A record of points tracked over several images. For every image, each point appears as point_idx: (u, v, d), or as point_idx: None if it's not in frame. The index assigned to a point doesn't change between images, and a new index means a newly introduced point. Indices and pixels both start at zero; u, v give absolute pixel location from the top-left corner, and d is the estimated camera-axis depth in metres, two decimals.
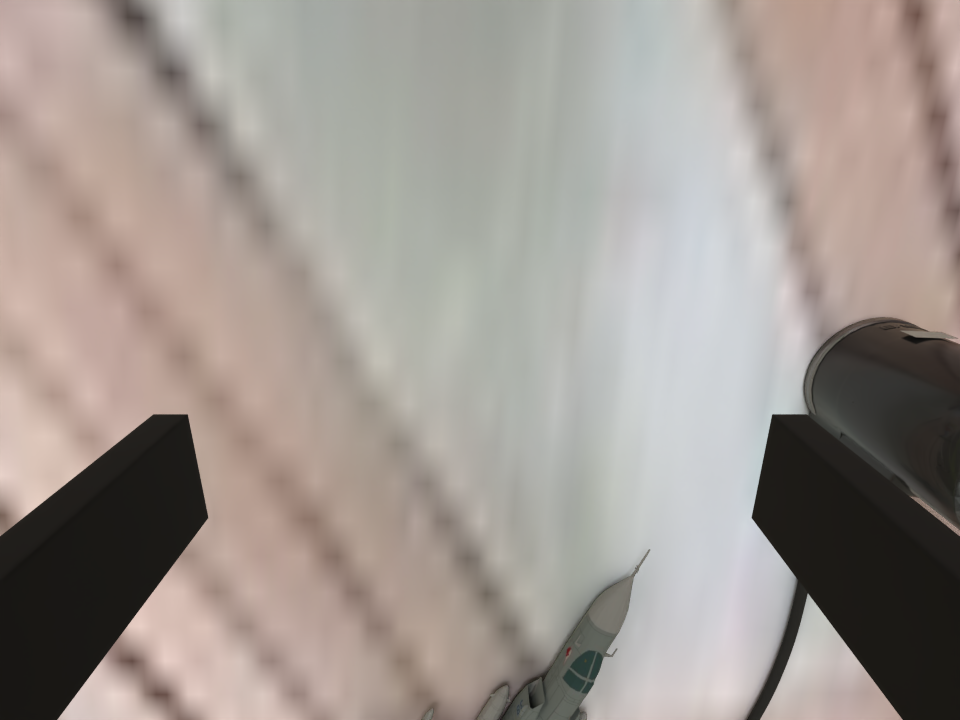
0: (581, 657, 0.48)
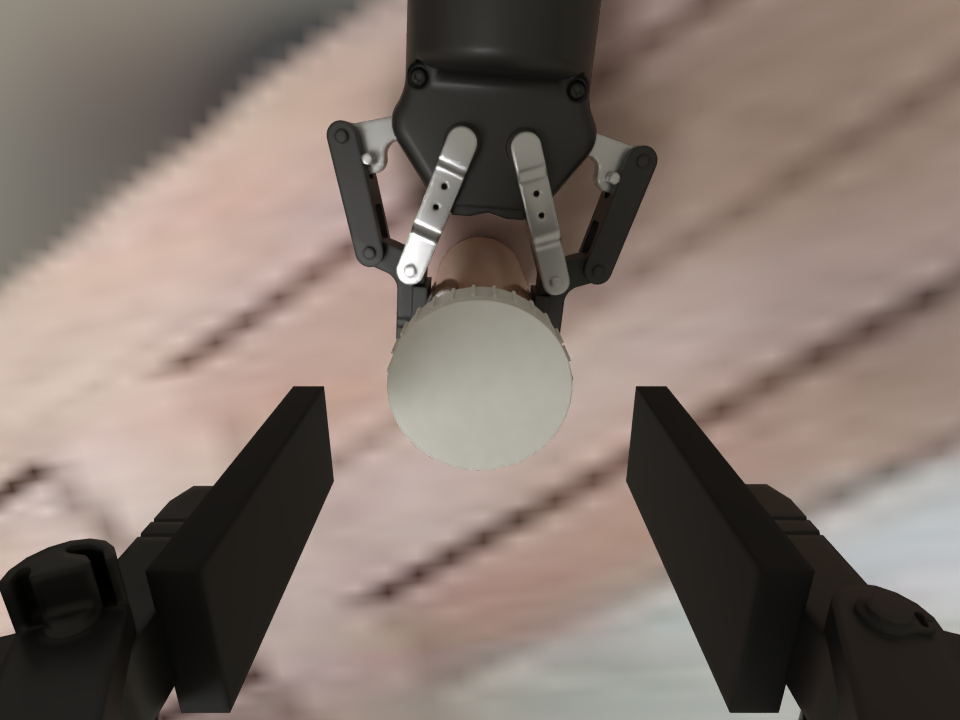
0: None
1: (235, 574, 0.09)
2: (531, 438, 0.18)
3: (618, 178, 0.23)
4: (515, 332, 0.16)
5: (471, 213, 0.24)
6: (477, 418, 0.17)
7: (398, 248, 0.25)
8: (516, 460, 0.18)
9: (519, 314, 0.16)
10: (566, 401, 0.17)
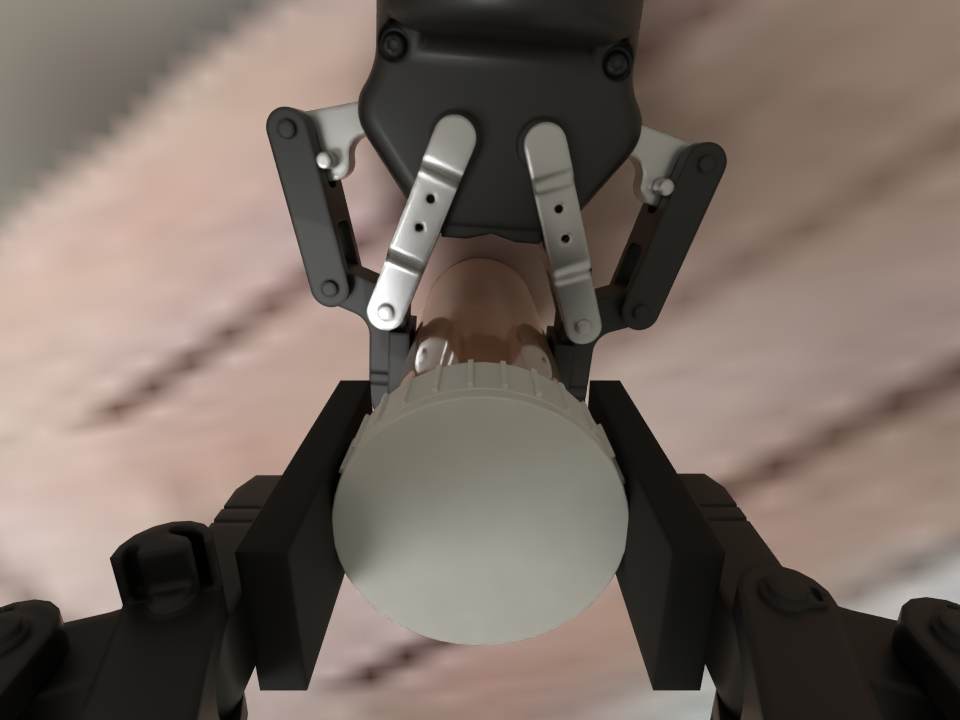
0: None
1: (310, 557, 0.09)
2: (562, 601, 0.11)
3: (672, 187, 0.17)
4: (539, 447, 0.10)
5: (468, 235, 0.17)
6: (476, 573, 0.11)
7: (370, 281, 0.18)
8: (537, 631, 0.11)
9: (546, 419, 0.10)
10: (619, 548, 0.11)
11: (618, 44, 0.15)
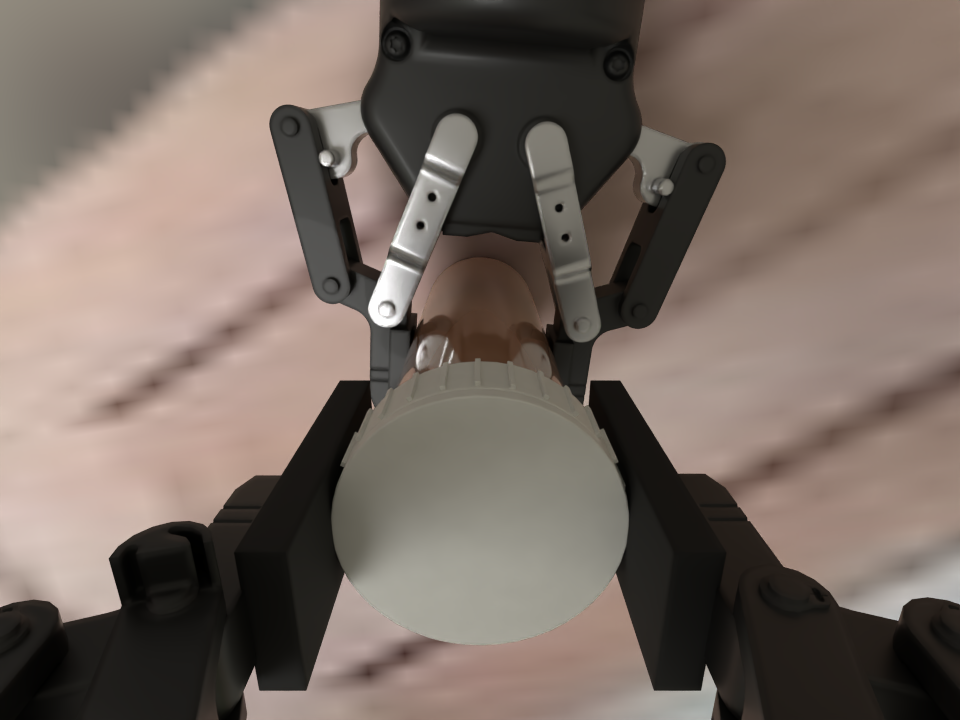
0: None
1: (310, 557, 0.09)
2: (556, 443, 0.10)
3: (671, 187, 0.17)
4: (372, 500, 0.10)
5: (469, 233, 0.18)
6: (530, 528, 0.10)
7: (371, 278, 0.18)
8: (602, 459, 0.10)
9: (341, 501, 0.10)
10: (475, 402, 0.10)
11: (619, 45, 0.16)
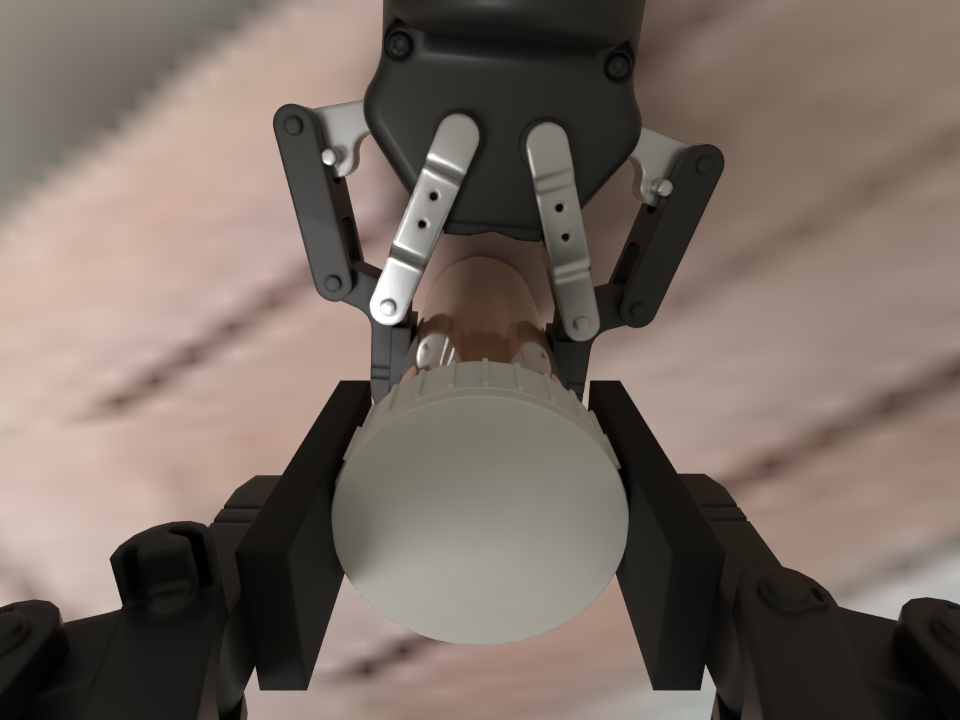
0: None
1: (310, 557, 0.09)
2: (365, 486, 0.10)
3: (670, 188, 0.17)
4: (462, 618, 0.11)
5: (470, 232, 0.18)
6: (465, 491, 0.10)
7: (372, 276, 0.19)
8: (370, 443, 0.10)
9: (466, 640, 0.11)
10: (343, 555, 0.11)
11: (619, 47, 0.16)
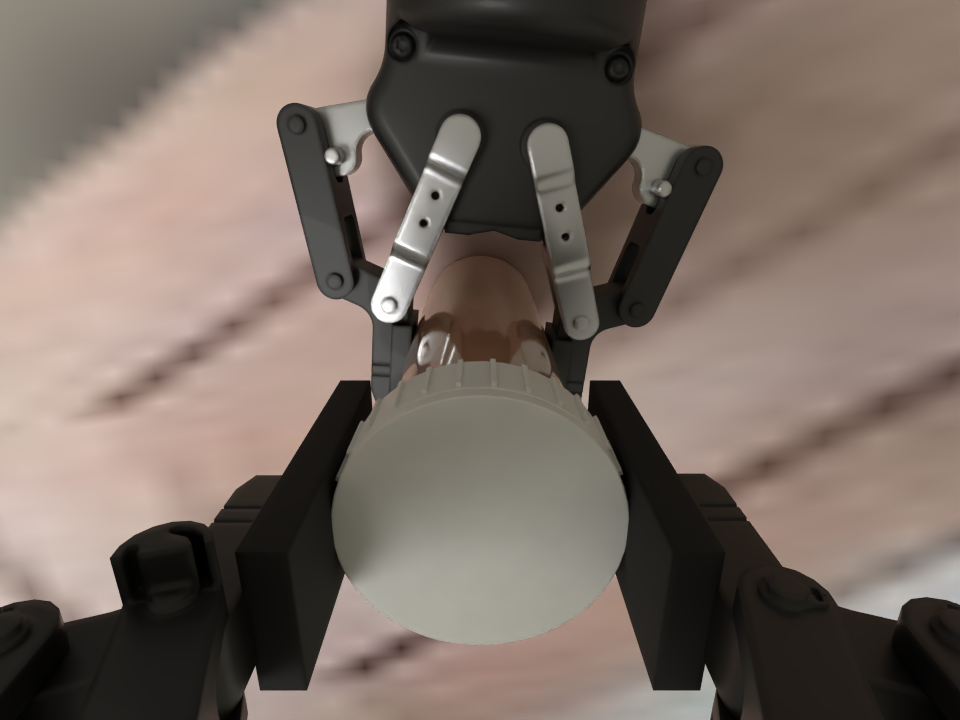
0: None
1: (310, 557, 0.09)
2: (449, 623, 0.11)
3: (669, 189, 0.17)
4: (592, 532, 0.11)
5: (471, 231, 0.18)
6: (435, 550, 0.11)
7: (374, 275, 0.19)
8: (404, 623, 0.11)
9: (621, 525, 0.10)
10: (528, 633, 0.11)
11: (620, 49, 0.16)
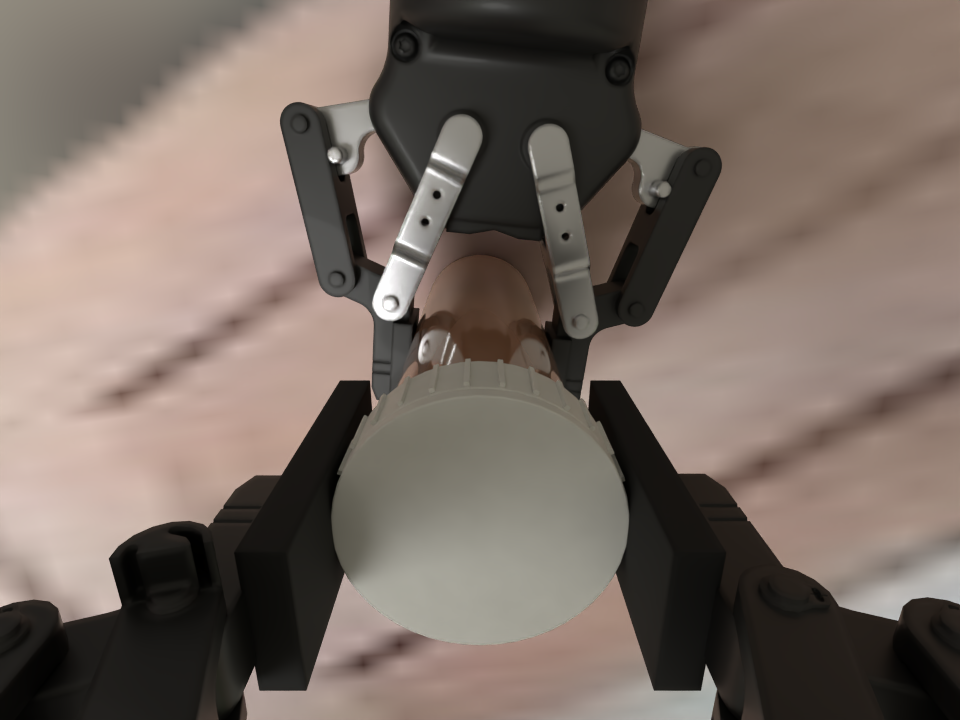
0: None
1: (310, 557, 0.09)
2: (601, 542, 0.11)
3: (668, 190, 0.17)
4: (459, 433, 0.10)
5: (472, 230, 0.18)
6: (508, 566, 0.11)
7: (375, 273, 0.19)
8: (605, 580, 0.11)
9: (442, 409, 0.10)
10: (607, 467, 0.10)
11: (620, 51, 0.16)
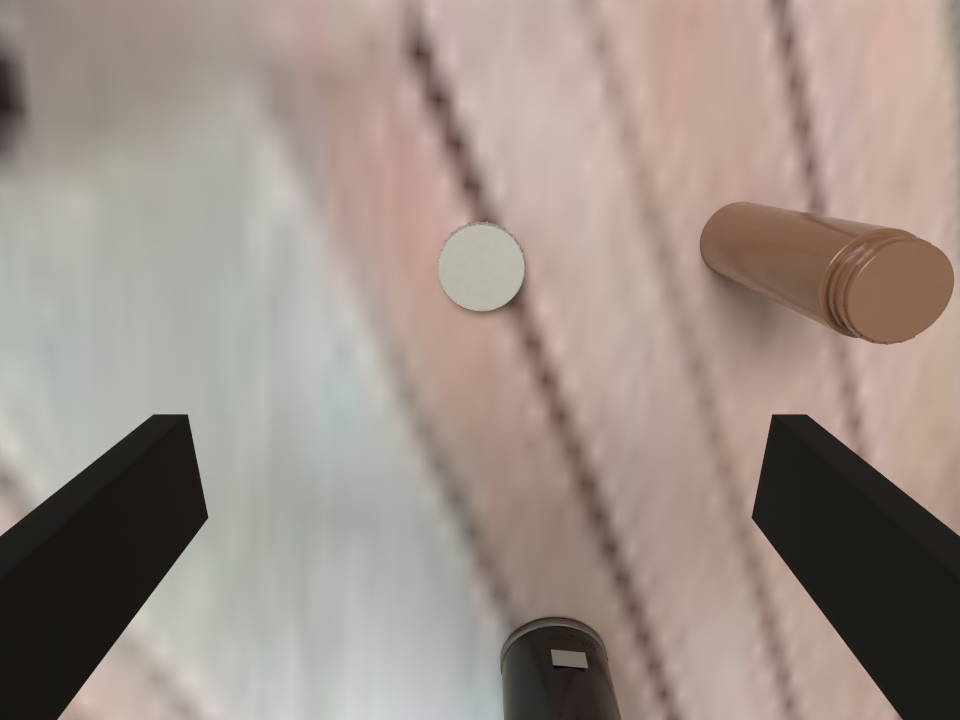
0: None
1: None
2: (516, 272, 0.36)
3: None
4: (475, 236, 0.35)
5: None
6: (489, 281, 0.36)
7: None
8: (518, 286, 0.37)
9: (471, 228, 0.35)
10: (517, 247, 0.36)
11: None
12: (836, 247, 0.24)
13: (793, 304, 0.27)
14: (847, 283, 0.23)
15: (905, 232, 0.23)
